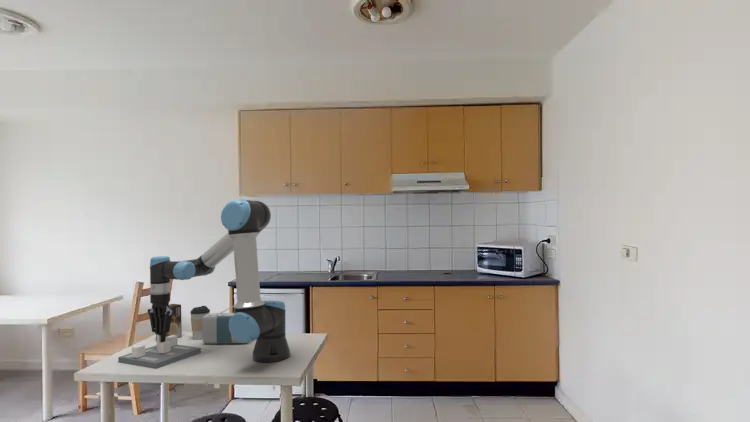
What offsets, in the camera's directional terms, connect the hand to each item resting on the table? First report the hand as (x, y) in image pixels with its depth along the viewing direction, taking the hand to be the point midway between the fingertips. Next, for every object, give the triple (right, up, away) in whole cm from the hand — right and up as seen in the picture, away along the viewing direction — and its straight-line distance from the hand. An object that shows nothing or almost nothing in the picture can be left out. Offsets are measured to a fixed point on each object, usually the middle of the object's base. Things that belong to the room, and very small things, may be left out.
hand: (160, 349), depth 180 cm
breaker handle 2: (+1, -1, +8) cm, 9 cm away
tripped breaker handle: (+2, -1, -1) cm, 2 cm away
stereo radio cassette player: (+21, -4, +21) cm, 30 cm away
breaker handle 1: (-6, -1, -6) cm, 9 cm away
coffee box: (-11, -4, +30) cm, 32 cm away
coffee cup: (+5, -4, +30) cm, 30 cm away
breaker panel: (0, -3, 0) cm, 3 cm away
